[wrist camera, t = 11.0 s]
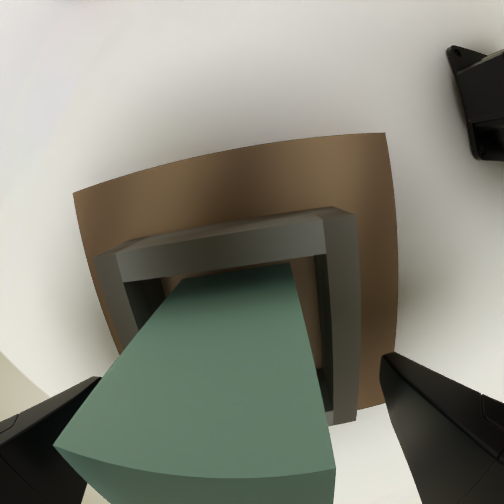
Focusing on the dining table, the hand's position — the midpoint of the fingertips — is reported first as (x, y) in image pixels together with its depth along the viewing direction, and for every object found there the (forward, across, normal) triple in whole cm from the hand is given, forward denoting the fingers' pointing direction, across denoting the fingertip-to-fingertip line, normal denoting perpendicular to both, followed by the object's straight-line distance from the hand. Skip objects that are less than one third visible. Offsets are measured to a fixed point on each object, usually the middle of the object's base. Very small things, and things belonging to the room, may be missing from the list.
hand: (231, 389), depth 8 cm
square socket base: (+6, 0, 0) cm, 6 cm away
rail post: (+4, 0, 0) cm, 4 cm away
